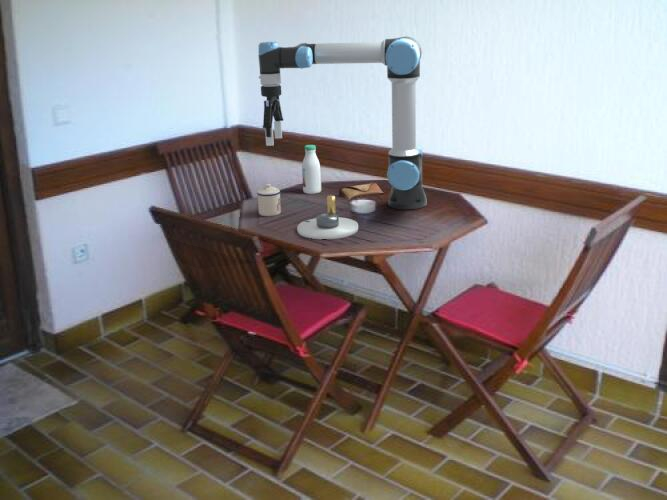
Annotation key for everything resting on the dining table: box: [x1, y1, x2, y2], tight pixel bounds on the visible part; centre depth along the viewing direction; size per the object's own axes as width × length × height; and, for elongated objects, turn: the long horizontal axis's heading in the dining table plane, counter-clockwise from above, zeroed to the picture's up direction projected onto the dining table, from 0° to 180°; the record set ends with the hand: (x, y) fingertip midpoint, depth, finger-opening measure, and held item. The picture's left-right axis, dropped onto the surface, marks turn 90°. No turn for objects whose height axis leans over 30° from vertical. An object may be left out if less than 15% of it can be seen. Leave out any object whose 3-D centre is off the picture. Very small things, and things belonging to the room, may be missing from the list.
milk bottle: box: [301, 144, 322, 195], centre depth 329 cm, size 8×8×20 cm
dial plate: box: [296, 216, 359, 240], centre depth 281 cm, size 22×22×2 cm
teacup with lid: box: [256, 183, 282, 217], centre depth 304 cm, size 12×9×12 cm
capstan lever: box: [315, 194, 339, 228], centre depth 282 cm, size 14×8×8 cm, turn 170°
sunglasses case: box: [338, 181, 384, 200], centre depth 326 cm, size 18×7×7 cm, turn 116°
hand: (274, 141), depth 295 cm, fingers open, 13 cm apart
